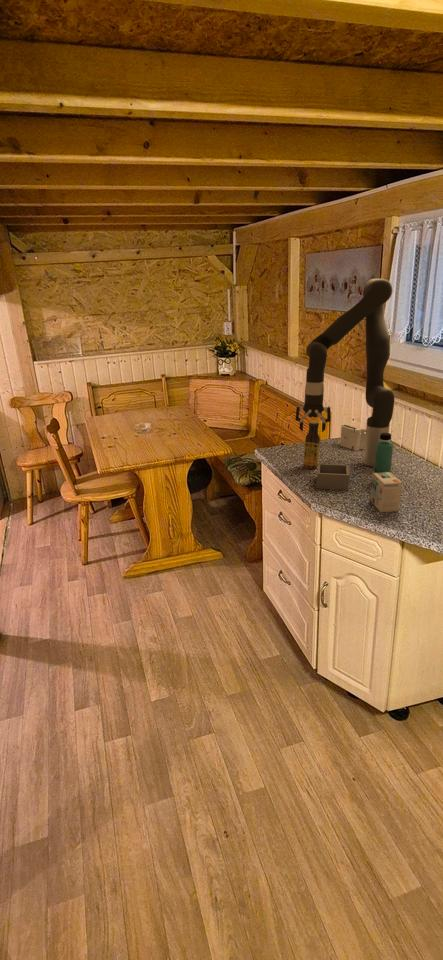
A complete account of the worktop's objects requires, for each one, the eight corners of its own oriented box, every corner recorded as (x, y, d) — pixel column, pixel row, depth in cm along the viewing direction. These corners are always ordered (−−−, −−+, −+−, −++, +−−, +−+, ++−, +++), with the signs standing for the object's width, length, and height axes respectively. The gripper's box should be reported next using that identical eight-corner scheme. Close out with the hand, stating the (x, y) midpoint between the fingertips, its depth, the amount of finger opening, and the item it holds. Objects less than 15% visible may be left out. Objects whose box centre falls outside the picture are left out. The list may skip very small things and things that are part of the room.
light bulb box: (369, 500, 186) (372, 472, 182) (387, 499, 186) (390, 471, 182) (380, 512, 176) (383, 483, 172) (399, 511, 176) (402, 482, 172)
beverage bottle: (390, 480, 204) (395, 431, 196) (389, 486, 198) (394, 436, 191) (373, 478, 206) (377, 430, 198) (372, 484, 200) (376, 435, 193)
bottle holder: (347, 478, 206) (348, 464, 204) (348, 489, 195) (349, 475, 193) (317, 477, 208) (317, 463, 206) (316, 488, 197) (317, 473, 195)
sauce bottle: (301, 468, 218) (303, 423, 211) (305, 464, 224) (306, 420, 217) (316, 470, 216) (319, 424, 209) (319, 465, 221) (322, 421, 214)
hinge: (368, 450, 240) (370, 429, 237) (362, 452, 237) (363, 431, 233) (343, 444, 250) (344, 424, 246) (336, 446, 246) (338, 426, 243)
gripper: (332, 391, 210) (329, 429, 216) (297, 390, 213) (295, 428, 219) (332, 394, 203) (329, 434, 209) (296, 393, 206) (294, 432, 212)
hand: (312, 431), depth 214 cm, fingers open, 8 cm apart
